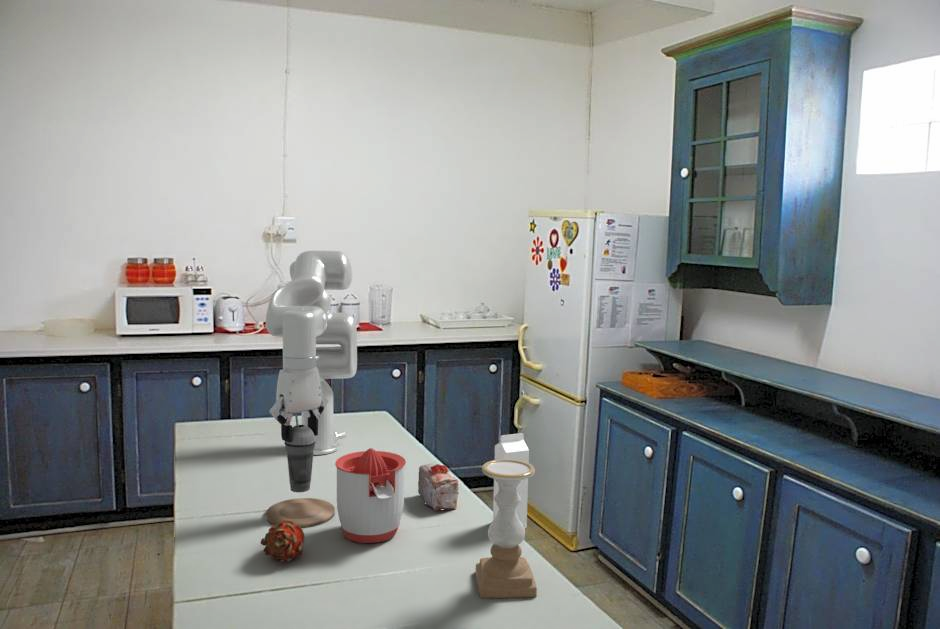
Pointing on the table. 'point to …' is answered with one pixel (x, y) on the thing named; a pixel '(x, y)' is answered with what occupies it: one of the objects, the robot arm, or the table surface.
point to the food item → (438, 486)
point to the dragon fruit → (284, 541)
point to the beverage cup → (300, 457)
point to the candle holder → (506, 537)
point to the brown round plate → (301, 512)
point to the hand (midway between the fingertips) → (300, 437)
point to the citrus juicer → (370, 494)
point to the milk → (516, 450)
